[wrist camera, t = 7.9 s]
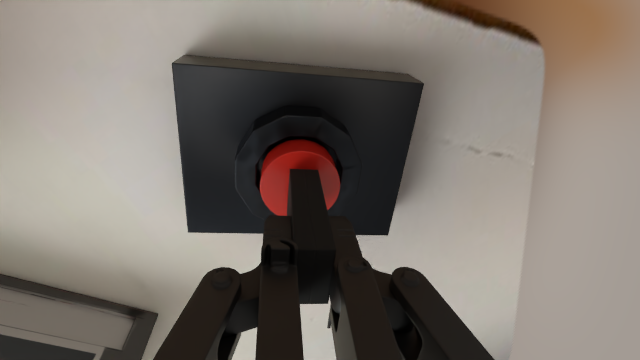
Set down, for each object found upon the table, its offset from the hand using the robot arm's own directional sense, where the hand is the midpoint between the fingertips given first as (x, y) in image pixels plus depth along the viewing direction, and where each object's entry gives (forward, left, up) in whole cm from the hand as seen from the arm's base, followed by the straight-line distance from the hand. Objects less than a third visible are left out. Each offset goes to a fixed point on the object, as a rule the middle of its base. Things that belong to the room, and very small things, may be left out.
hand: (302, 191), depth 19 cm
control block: (0, 0, -6) cm, 6 cm away
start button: (0, 0, -2) cm, 2 cm away
